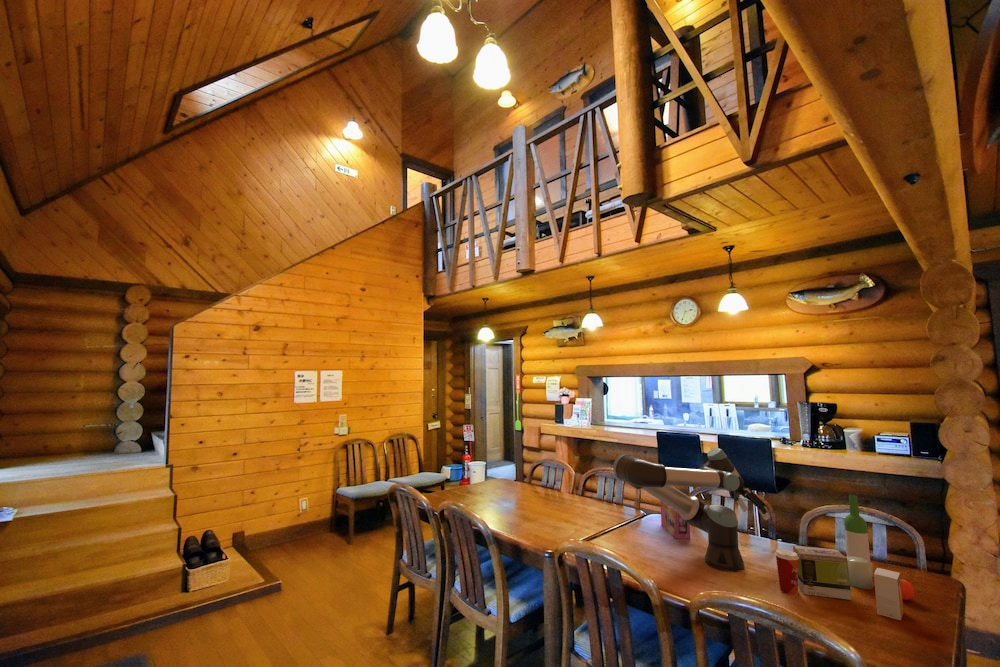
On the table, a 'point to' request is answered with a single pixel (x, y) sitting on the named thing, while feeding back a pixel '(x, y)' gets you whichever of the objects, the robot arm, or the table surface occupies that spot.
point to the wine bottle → (856, 532)
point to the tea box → (823, 572)
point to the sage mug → (860, 572)
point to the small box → (888, 593)
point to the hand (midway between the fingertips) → (756, 514)
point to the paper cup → (787, 571)
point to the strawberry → (907, 590)
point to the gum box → (674, 522)
